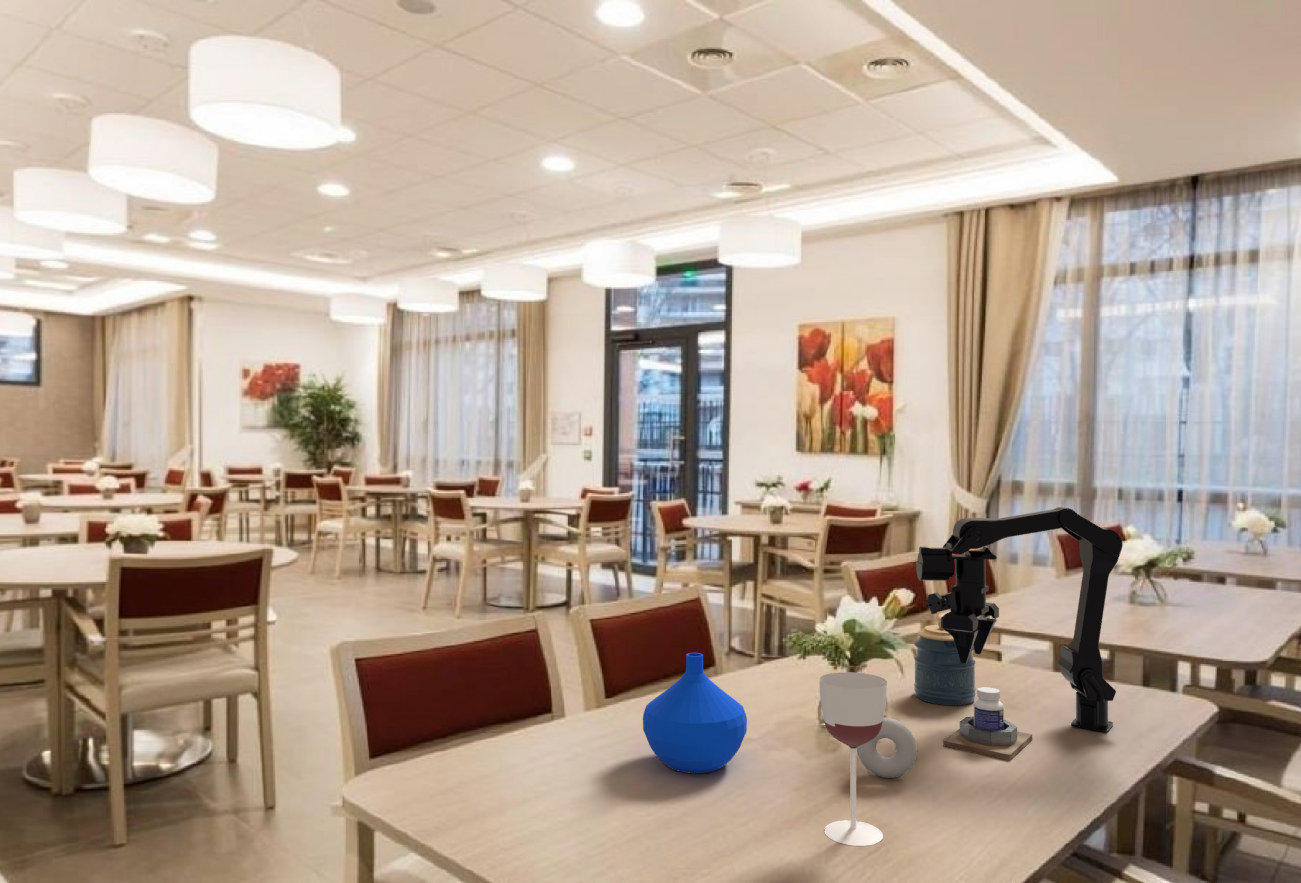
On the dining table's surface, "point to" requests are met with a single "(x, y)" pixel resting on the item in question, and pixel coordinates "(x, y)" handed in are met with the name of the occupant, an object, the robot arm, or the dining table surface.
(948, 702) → the canister
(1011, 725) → the ring collar
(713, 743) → the vase
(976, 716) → the pill bottle
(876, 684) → the wineglass
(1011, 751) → the tan board
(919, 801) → the dining table surface
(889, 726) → the donut
